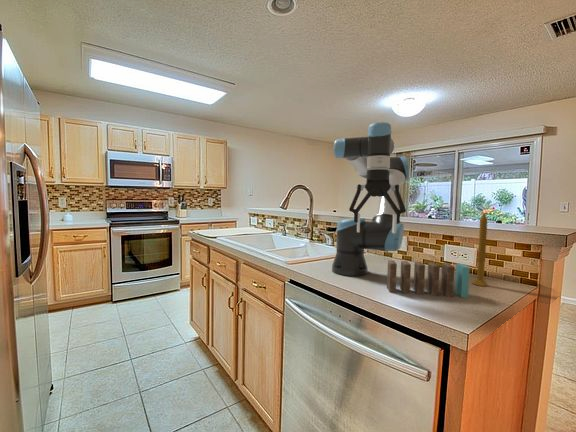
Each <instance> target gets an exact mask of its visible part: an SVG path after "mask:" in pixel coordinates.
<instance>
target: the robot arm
mask: <svg viewBox="0 0 576 432" xmlns="http://www.w3.org/2000/svg"><path fill="white" fill-rule="evenodd" d="M391 125H392V124H390V123H388V122H384V121H383V122H375V123H371V124H370V125H369V126H368V129H367V134H366V135H367V136H359V137H347V138H346V137H343V138H338V139H335V141H334V143H333V153H334V156H335V158H336V159H346V160H347V161H348V162H349V164H351V166H352V167H353V168H354V171H355V173H356V175H358V176H360V177H362V178H364V179H366V181H365V182H366V183H364V184H357V186H356V192H355V195H354V197H353V199H352V201H351V203H350V206H349V209H348V210H349V211H350V212H351V213H353V218H345V219H341V220H339V221H338V222H337V224H336V225H337V226H336V253H335V256H334V259H333V261H332V264H331V271H332V272H333V273H334V274H337V275H342V276H346V277H348V276H350V277H360V276H365V275H367V274H368V272H369V271H368V270H369V269H368V265H367V264H368V263H367V262H366V257H365V250H371V251H383V252H388V253H389V252H397V251H399V250H400V249H401V246H402V243H403V237H404V233H405V232H404V231H405V230H404V229H405V226H404V224H403V223H402V222H401V214H403V213H406V212H407V210H406V207H405V204H404V202H403V201H404V200H403V198H402V196H401V195H402V194H401V189H402V186H403V185H404V183H405V182H406V181H409V178H410V176H409V175H410V174H409V173H410V171H409V158H408V157H407V156H400V155H398V156H391V154H393V152H394V150H395V142H394V139H393V138H392V126H391ZM364 189H365V191H367V192H366V194H365V196H364V197H363V198H362V200H361V201H360V203H359V204H358V205H357V206H356V204H357V201H358V199H359V198H360V195H361V193H362V191H363V190H364ZM371 197H374V198H375V197H379V200H378V205H377V209H376V210H377V212H376V215H374V216H373V217H372V220H371V221H366V219H365V218H364V217H361V213H360V210H362V208H363V207H364V205H365V204H366V202H367V201H368V200H369V199H370V198H371ZM355 206H356V208H355ZM349 211H348V212H349Z"/></svg>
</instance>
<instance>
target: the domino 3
mask: <svg viewBox="0 0 576 432" xmlns="http://www.w3.org/2000/svg"><path fill="white" fill-rule="evenodd" d="M413 266H414V269H413V286H412V287H413V291H414V292H415V293H416V295H422V296H423V295H424V294H425V275H426V264H424V263H423V262H421V261H414V263H413Z"/></svg>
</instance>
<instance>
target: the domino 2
mask: <svg viewBox="0 0 576 432" xmlns="http://www.w3.org/2000/svg"><path fill="white" fill-rule="evenodd" d="M411 265H412V264H411V263H410V262H408V261H407V260H400V279H399V284H400V285H399V288H400V291H401V292H402V293H403V294H408V295H410V291H411V269H412V266H411Z"/></svg>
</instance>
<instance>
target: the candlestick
mask: <svg viewBox="0 0 576 432" xmlns="http://www.w3.org/2000/svg"><path fill="white" fill-rule="evenodd" d="M478 230H479V231H478V234H479V235H478V241H477V243H478V244H477V245H478V246H477V259H476V260H477V273H476V279H475V280H474V281H472V282H471V284H473V285H475V286H477V287H488V286H489V284H488V283H487V281H485V279H484V277H485V262H486V256H487V241H488V240H487V239H488V238H487V236H488V219H487V215H486V213H485V212H483V213H482V214H481V216H480V218H479V229H478Z"/></svg>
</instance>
